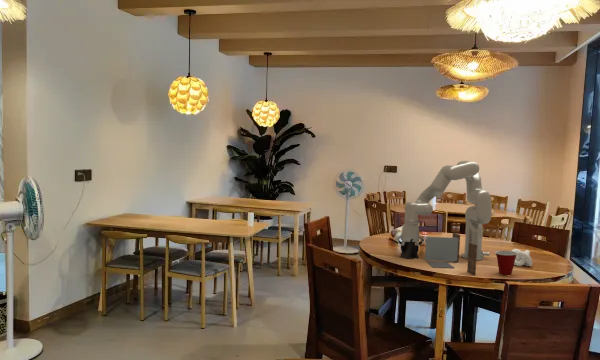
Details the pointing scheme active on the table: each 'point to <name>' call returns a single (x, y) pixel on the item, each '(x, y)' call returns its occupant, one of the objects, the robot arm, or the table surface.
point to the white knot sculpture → (522, 258)
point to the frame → (471, 255)
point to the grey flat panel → (441, 248)
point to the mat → (440, 265)
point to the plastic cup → (506, 261)
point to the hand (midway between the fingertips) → (409, 252)
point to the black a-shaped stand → (409, 250)
